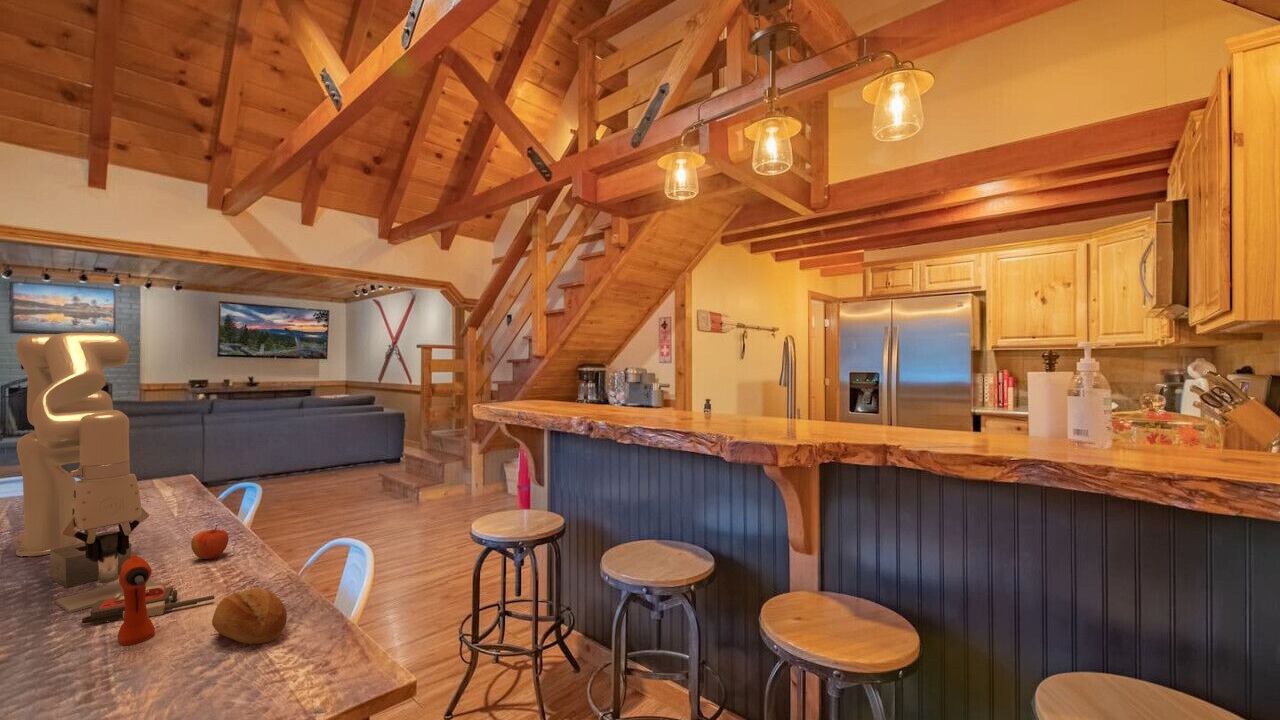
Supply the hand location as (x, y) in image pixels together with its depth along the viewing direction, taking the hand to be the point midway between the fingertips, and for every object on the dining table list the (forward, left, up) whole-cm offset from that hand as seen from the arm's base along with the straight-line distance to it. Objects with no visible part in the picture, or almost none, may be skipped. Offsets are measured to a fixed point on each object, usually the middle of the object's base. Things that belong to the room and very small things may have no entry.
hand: (107, 556), depth 116 cm
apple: (+6, +20, -9) cm, 23 cm away
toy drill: (+24, -21, -9) cm, 33 cm away
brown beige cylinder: (0, 0, -5) cm, 5 cm away
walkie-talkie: (+15, -7, -9) cm, 19 cm away
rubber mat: (0, 0, -8) cm, 8 cm away
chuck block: (-15, +12, -8) cm, 20 cm away
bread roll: (+42, -19, -9) cm, 47 cm away
